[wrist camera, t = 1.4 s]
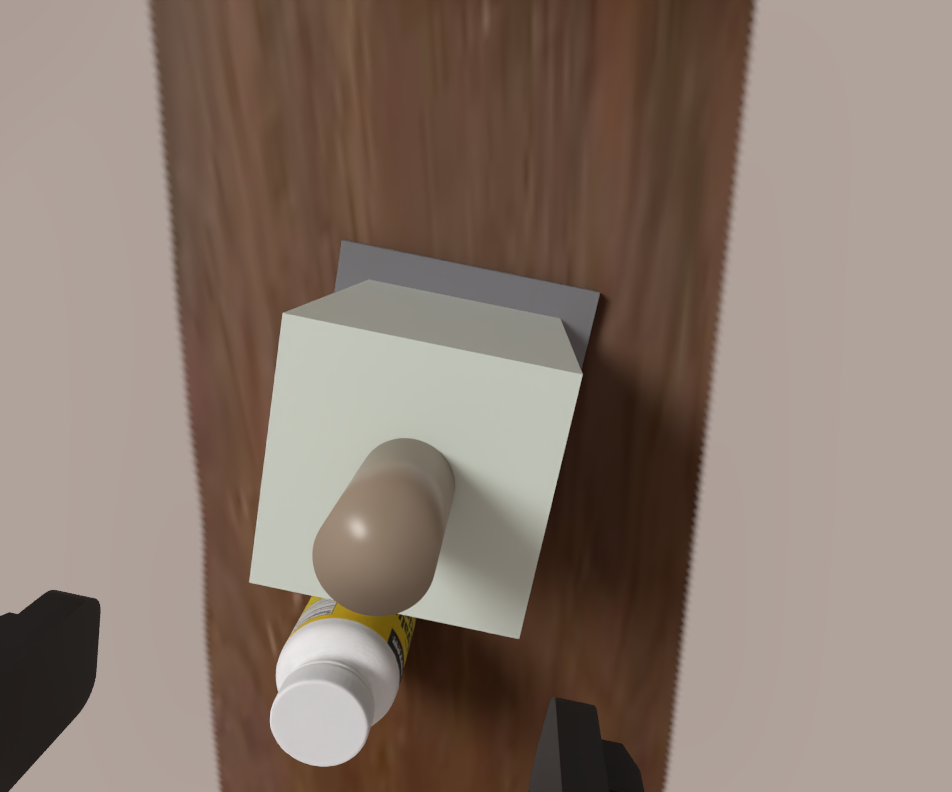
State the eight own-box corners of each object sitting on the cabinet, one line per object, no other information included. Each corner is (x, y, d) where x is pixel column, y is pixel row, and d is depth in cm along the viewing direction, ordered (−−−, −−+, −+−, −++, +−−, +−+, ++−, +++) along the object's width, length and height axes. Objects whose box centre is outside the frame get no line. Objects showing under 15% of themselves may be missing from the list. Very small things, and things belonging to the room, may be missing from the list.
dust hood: (368, 279, 32) (209, 342, 16) (560, 318, 32) (601, 422, 16) (341, 459, 34) (175, 680, 18) (519, 496, 34) (518, 752, 18)
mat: (344, 239, 32) (341, 240, 32) (598, 291, 32) (600, 292, 32) (311, 477, 35) (307, 481, 35) (542, 525, 35) (542, 530, 35)
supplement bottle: (440, 611, 37) (412, 747, 27) (358, 658, 38) (304, 804, 28) (381, 531, 36) (332, 643, 26) (299, 581, 37) (222, 706, 27)
